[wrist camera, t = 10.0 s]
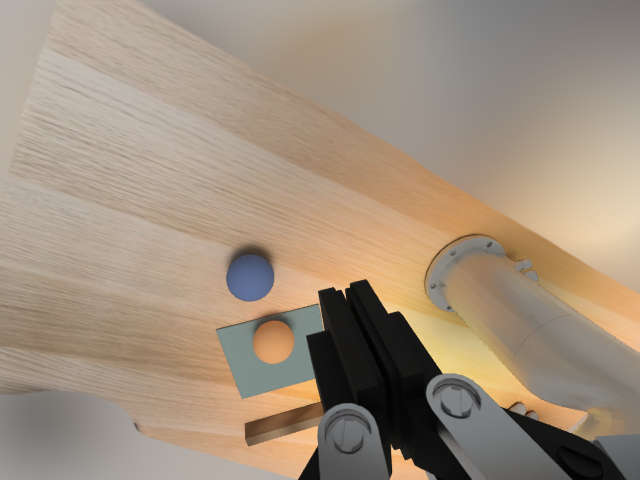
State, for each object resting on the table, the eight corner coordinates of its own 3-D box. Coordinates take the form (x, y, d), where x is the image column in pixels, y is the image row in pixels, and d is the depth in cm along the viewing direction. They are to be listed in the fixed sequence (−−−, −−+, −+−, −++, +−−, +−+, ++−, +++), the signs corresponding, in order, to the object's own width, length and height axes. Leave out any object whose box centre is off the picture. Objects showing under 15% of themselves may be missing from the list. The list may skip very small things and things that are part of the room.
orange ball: (295, 345, 39) (300, 364, 43) (287, 308, 43) (292, 328, 47) (251, 357, 39) (260, 375, 42) (246, 319, 42) (255, 338, 46)
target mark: (318, 303, 45) (318, 304, 45) (330, 373, 52) (330, 374, 51) (215, 329, 43) (215, 330, 43) (242, 397, 50) (241, 399, 50)
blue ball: (277, 305, 36) (276, 287, 41) (271, 258, 35) (270, 246, 40) (227, 312, 35) (232, 294, 41) (219, 265, 34) (225, 252, 39)
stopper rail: (340, 396, 55) (344, 409, 52) (341, 403, 55) (346, 417, 53) (244, 423, 52) (245, 438, 50) (247, 431, 53) (248, 446, 51)
